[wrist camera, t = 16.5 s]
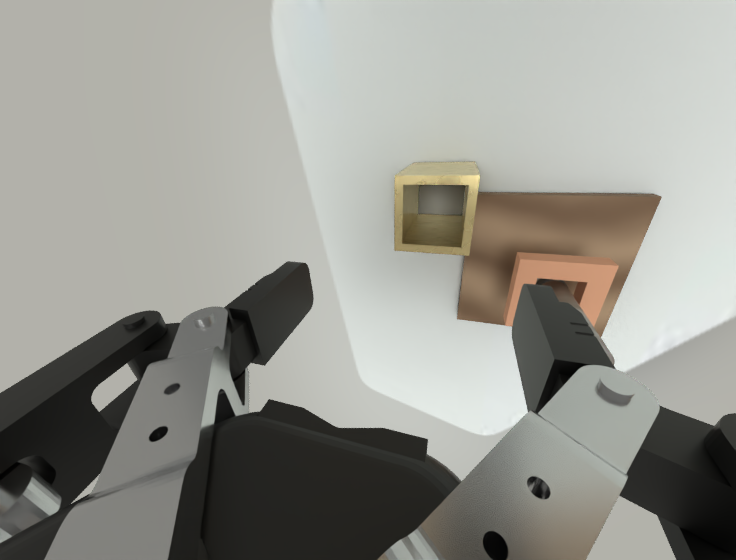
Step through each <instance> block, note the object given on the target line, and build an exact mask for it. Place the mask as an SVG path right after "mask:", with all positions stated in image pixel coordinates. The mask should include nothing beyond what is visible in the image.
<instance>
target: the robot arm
mask: <svg viewBox="0 0 736 560" xmlns="http://www.w3.org/2000/svg"><path fill="white" fill-rule="evenodd" d="M312 305H313V291H312V285H311V279H310V273H309V268H308V265H307V264H306V263H300V262H286V263H285V264H284V265H282V266H281V267H280V268H278V269H277V270H276V271H274V272H273V273H271V274H269V275H267V276H265V277H263V278H262V279H260V280H259V281H258V282H256V283H255V285H253V286H251V287H250V288H249V289H248V291H245V292H244V293H242V294H241V295H240V296H239V297H237V298H236V299H235V300H233V301H232V302H231V303H229V304H228V305H227V306H226V307H224V308H223V307H208V308H204V309H201V310H198V311H196V312H193V313H191V314H190V315H188V316H187V317H186V318H184V319H183V320H182V322H181V323H171V324H165V322H164V320H163V318H162V316H161V314H160V313H159V312H157V311H143V312H139V313H135V314H133V315H130V316H127V317H125V318H123V319H121V320H119V321H118V322H116V323H115V324H113V325H111V326H109V327H108V328H106V329H105V330H103V331H101V332H100V333H98V334H96V335H95V336H93V337H91V338H90V339H88V340H87V341H85V342H83V343H82V344H80V345H78V346H77V347H75V348H73V349H72V350H70V351H69V352H67V353H65V354H64V355H62V356H61V357H59V358H57V359H56V360H54V361H52V362H51V363H49V364H47V365H46V366H44V367H42V368H41V369H39V370H37V371H36V372H34V373H33V374H31V375H29V376H28V377H26V378H24V379H23V380H21V381H19V382H18V383H16V384H15V385H13V386H11V387H10V388H8V389H6V390H5V391H3V392H1V393H0V560H586V558H587V556H588V554H589V553H590V551H591V548H592V547H593V545H594V543H595V541H596V539H597V537H598V535H599V533H600V531H601V529H602V528H603V526H604V524H605V522H606V520H607V518H608V516H609V514H610V512H611V510H612V508H613V506H614V504H615V503H616V500H617V499H618V497H619V496H622V497H623V498H625V499H627V500H629V501H631V502H633V503H635V504H637V505H638V506H640V507H642V508H644V509H646V510H648V511H650V512H652V513H654V514H656V515H657V516H658V518H659V520H660V523H661V525H662V527H663V530H664V532H665V534H666V537H667V539H668V541H669V544H670V546H671V548H672V551H673V553H674V555H675V557H676V560H736V414H735V413H734V414H728V415H725V416H723V417H722V418H721V419H720V420H719V421H718V422H717V424H716V425H715V426H713V425H710V424H707V423H704V422H702V421H699V420H696V419H693V418H691V417H688V416H685V415H682V414H679V413H677V412H674V411H671V410H669V409H666V408H664V407H662V406H660V405H659V403H658V400H657V398H656V397H655V395H654V394H653V393H652V392H651V391H650V390H649V389H648V388H647V387H646V386H645V385H644V384H642V383H641V382H640V381H638V380H637V379H635V378H633V377H632V376H630V375H628V374H626V373H624V372H621V371H619V370H616V369H615V367H614V365H613V364H612V362H611V361H610V359H609V357H608V356H607V354H606V352H605V351H604V349H603V347H602V346H601V344H600V342H599V341H598V339H597V338H596V337H595V336H594V333H593V331H592V329H591V328H590V327H588V325H589V324H588V323H587V321H586V319H585V318H584V316H583V314H582V313H581V312H580V311H578V310H577V309H576V308H574V307H573V306H572V305H570V304H569V303H566V302H559V300H558V299H557V297H556V295H555V293H554V291H553V289H552V287H551V286H547V285H536V284H523V286H522V289H521V292H520V296H519V300H518V304H517V308H516V312H515V316H514V320H513V326H512V340H513V345H514V349H515V354H516V358H517V363H518V368H519V372H520V377H521V381H522V386H523V391H524V395H525V400H526V404H527V409H528V413H527V414H526V415H525V416H524V417H523V418H522V419H521V420H520V421H519V422H518V423H517V424H516V425H515V426H514V427H513V428H512V429H511V430H510V431H509V432H508V433H507V434H506V435H505V437H504V438H503V439H502V440H501V441H500V442H499V443H498V444H497V445H496V446H495V447H494V448H493V449H492V450H491V451H490V452H489V453H488V454H487V455H486V456H485V458H484V459H483V460H482V461H481V462H480V463H479V464H478V465H477V466H476V467H475V468H474V469H473V470H472V471H471V472H470V473H469V474H468V475H467V476H466V478H465V479H464V480H463V481H461V480H460V479H459V478H458V477H457V476H456V475H455V474H454V473H453V472H452V471H450V470H449V469H448V468H447V467H446V466H444V465H443V464H442V463H440V462H439V461H437V460H436V459H434V458H433V457H431V456H429V455H427V443H428V440H427V439H425V438H421V437H417V436H413V435H409V434H405V433H401V432H397V431H393V430H389V429H385V428H337V427H335V426H333V425H331V424H330V423H328V422H326V421H325V420H323V419H321V418H319V417H318V416H316V415H314V414H313V413H311V412H309V411H308V410H306V409H304V408H302V407H298V406H294V405H290V404H285V403H282V402H278V401H274V400H270V399H269V400H268V402H267V403H266V404H265V406H264V407H263V409H262V410H261V411H260V412H252V413H249V371H248V368H247V366H248V365H249V364H250V363H255V364H260V365H266V363H267V362H268V361H269V360H270V358H271V357H272V356H273V355H274V354H275V352H276V351H277V350H278V349H279V347H280V346H281V345H282V344H283V343H284V341H285V340H286V339H287V338H288V336H289V335H290V334H291V333H292V332H293V330H294V329H295V328H296V327H297V325H298V324H299V323H300V322H301V321H302V319H303V318H304V317H305V315H306V314H307V313H308V312H309V311H310V309H311V307H312ZM126 363H128V365H129V367H130V368H131V370H132V371H133V373H134V375H135V376H136V377H137V379H138V380H137V381H136V382H134V383H133V384H132V385H131V386H130V387H128V388H127V389H126V390H125V391H124V392H123V393H121V394H120V395H119V396H118V397H117V398H115V399H114V400H113V401H112V402H111V403H109V404H108V405H107V406H106V407H105V408H104V409H102V410H101V411H100V412H98V410H97V409H96V408H95V406H94V405H93V404H92V402H91V396H92V393H93V391H94V389H95V388H96V387H97V386H98V385H99V384H100V383H101V382H103V381H104V380H105V379H107V378H108V377H109V376H111V375H112V374H113V373H115V372H116V371H117V370H118V369H120V368H121V367H122V366H124V365H125V364H126ZM99 474H100V476H99V478H98V481H97V483H96V485H95V487H94V489H93V490H92V492H91V493H90V494H88V495H87V496H85V497H83V498H81V499H80V500H78V501H76V502H74V503H72V502H73V500H75V499H76V498H77V497H78V495H80V493H82V491H83V490H84V489H85V488H86V487H87V486H88V485H89V484H90V483H91V482H92V481H93V480H94V479H95V478H96V477H97V476H98V475H99ZM71 503H72V504H71Z"/></svg>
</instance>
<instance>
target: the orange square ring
mask: <svg viewBox="0 0 736 560" xmlns="http://www.w3.org/2000/svg"><path fill="white" fill-rule="evenodd" d="M618 267H619V266H618V265H617V264H616V263H615V262H614V261H613V260H611V259H610V258H604V257H588V256H572V255H555V254H539V253H523V252H517V255H516V260H515V265H514V269H513V274H512V278H511V283H510V288H509V292H508V297H507V301H506V306H505V310H504V315H503V317H504V322H505V326H513V320H514V316H515V312H516V308H517V304H518V300H519V296H520V292H521V289H522V286H523V284H536V281H537V278H542V279H554V280H566V281H578V283H577V286H576V289H575V292H574V295H573V296H574V298H575V300H576V301H577V303H578V304H579V306H580V307H581V309H582V310H583V312H584V313H585V315H586V316H587V318H588V319H589V321H590V322H591V324H592V325H593V327H594V326H595V323H596V321H597V318H598V316H599V313H600V311H601V308H602V306H603V304H604V301H605V299H606V296H607V294H608V291H609V289H610V286H611V284H612V282H613V279H614V277H615V274H616V272H617V269H618Z"/></svg>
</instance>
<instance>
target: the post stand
mask: <svg viewBox="0 0 736 560" xmlns="http://www.w3.org/2000/svg"><path fill="white" fill-rule="evenodd" d="M660 200H661V196H658V195H655V194H617V193H508V192H478V195H477V202H476V210H475V217H474V224H473V231H472V239H471V246H470V253H469V256H465V257H464V265H463V273H462V281H461V289H460V297H459V305H458V313H457V319H460V320H468V321H476V322H484V323H492V324H499V325H505V322H504V317H503V315H504V310H505V306H506V301H507V297H508V292H509V288H510V283H511V278H512V274H513V269H514V265H515V260H516V255H517V252H523V253H539V254H555V255H572V256H588V257H604V258H610V259H611V260H613V261H614V262H615V263H616V264H617V265H618V266H619V267H618V269H617V272H616V274H615V277H614V279H613V282H612V284H611V286H610V289H609V291H608V294H607V296H606V299H605V301H604V304H603V306H602V308H601V311H600V313H599V316H598V318H597V321H596V323H595V326H594V327H593V325H592V324H591V322H590V321H589V319H588V318H587V316H586V315H585V313H584V312H583V310H582V309H581V307H580V306H579V304H578V303H577V301H576V300H575V298H574V296H573V295H574V292H575V289H576V286H577V283H578V281H566V280H554V279H542V278H537V281H536V285H547V286H551V287H552V289H553V291H554V293H555V295H556V297H557V299H558V300H559V302H566V303H569V304H570V305H572V306H573V307H574V308H576V309H577V310H578V311H580V312H581V313H582V314H583V316H584V318H585V319H586V321H587V323H588V324H589V325H588V327H590V328H591V329H592V331H593V333H594V336H595V337H596V338H597V339H598V341H599V342H600V344H601V346H602V347H603V349H604V351H605V352H606V354H607V356H608V357H609V359H610V361H611V362H612V364H613V365H614V357H613V356H612V354H611V353H610V351H609V350H608V348H607V347H606V345H605V344H604V342H603V340H602V339H601V336H602V334H603V331H604V329H605V327H606V325H607V322H608V320H609V318H610V315H611V313H612V311H613V308H614V306H615V304H616V301H617V299H618V297H619V294H620V292H621V290H622V288H623V285H624V283H625V281H626V278H627V276H628V274H629V271H630V269H631V267H632V264H633V262H634V260H635V258H636V255H637V253H638V251H639V248H640V246H641V244H642V241H643V239H644V237H645V234H646V232H647V230H648V227H649V225H650V223H651V221H652V218H653V216H654V214H655V211H656V209H657V207H658V204H659V202H660Z"/></svg>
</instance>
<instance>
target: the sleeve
mask: <svg viewBox="0 0 736 560" xmlns="http://www.w3.org/2000/svg"><path fill="white" fill-rule="evenodd" d="M479 180H480V173H479V171H478V168H477V165H476V163H475V162H418V163H412V164H411V165H410V166H408V167H407V168H405V169H404V170H402V171H401V172H399V173H398V174H396V175H395V245H394V250H395V251H409V252H423V253H437V254H451V255H465V256H469V253H470V246H471V239H472V231H473V224H474V217H475V210H476V202H477V195H478V188H479ZM419 185H465V194H464V202H463V211H462V216H461V215H432V214H418V200H419Z"/></svg>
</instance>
